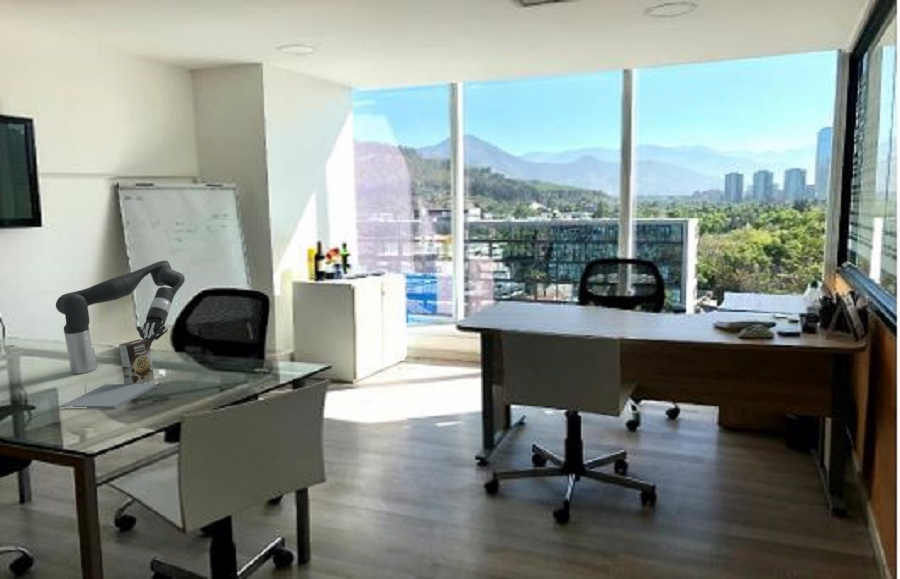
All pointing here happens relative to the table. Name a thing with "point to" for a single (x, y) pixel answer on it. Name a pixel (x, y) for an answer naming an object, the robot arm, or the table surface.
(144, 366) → the coffee box
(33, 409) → the table surface
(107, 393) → the mat
